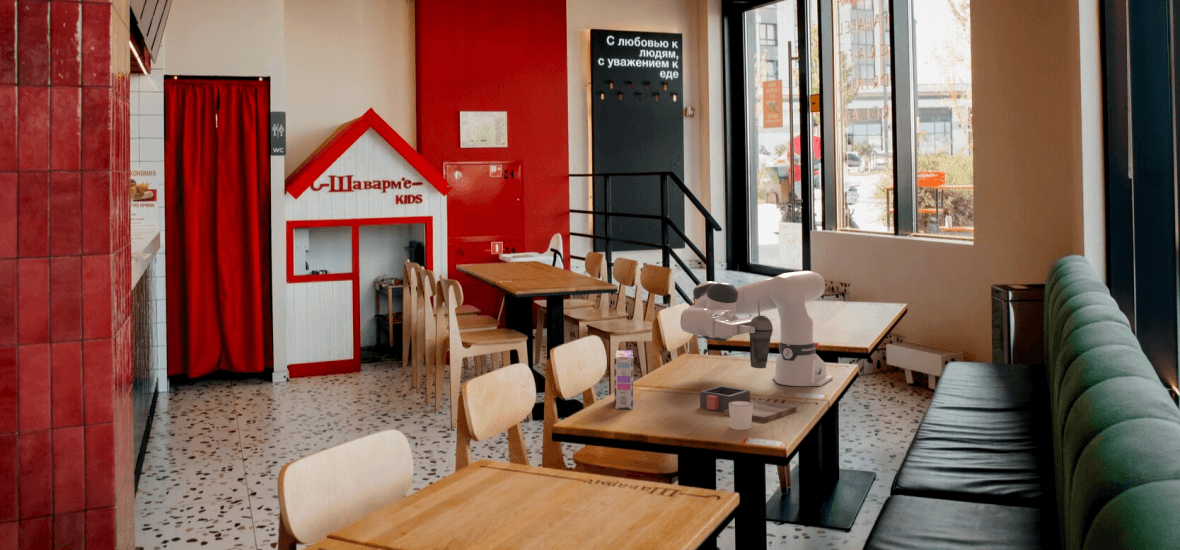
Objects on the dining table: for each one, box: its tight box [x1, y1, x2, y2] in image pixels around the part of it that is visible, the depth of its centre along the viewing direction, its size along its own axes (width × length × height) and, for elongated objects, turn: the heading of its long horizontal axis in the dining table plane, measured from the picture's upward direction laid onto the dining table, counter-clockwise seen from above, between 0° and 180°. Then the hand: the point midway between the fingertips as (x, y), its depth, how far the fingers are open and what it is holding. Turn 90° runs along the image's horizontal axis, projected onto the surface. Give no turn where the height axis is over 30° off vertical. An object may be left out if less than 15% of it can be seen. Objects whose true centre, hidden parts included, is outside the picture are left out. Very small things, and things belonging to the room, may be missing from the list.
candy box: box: [613, 350, 634, 410], centre depth 287 cm, size 14×6×16 cm, turn 176°
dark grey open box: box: [699, 385, 751, 412], centre depth 282 cm, size 13×11×5 cm
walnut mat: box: [723, 399, 798, 423], centre depth 274 cm, size 18×14×2 cm
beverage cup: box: [748, 301, 774, 369], centre depth 272 cm, size 7×7×20 cm
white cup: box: [729, 401, 753, 431], centre depth 257 cm, size 7×7×7 cm
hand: (763, 328), depth 271 cm, fingers closed on beverage cup, 7 cm apart
